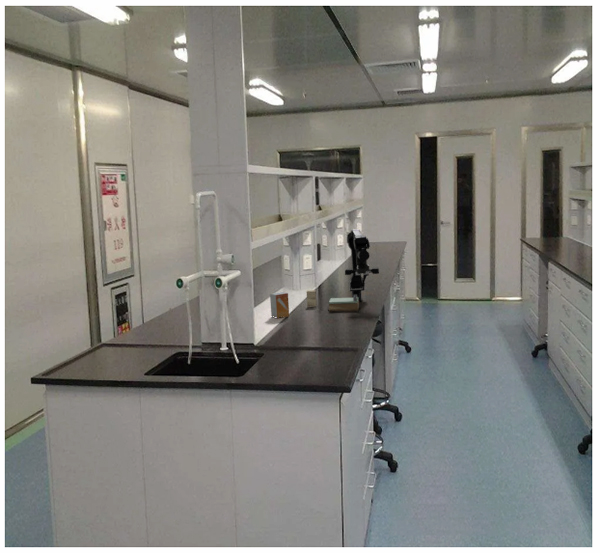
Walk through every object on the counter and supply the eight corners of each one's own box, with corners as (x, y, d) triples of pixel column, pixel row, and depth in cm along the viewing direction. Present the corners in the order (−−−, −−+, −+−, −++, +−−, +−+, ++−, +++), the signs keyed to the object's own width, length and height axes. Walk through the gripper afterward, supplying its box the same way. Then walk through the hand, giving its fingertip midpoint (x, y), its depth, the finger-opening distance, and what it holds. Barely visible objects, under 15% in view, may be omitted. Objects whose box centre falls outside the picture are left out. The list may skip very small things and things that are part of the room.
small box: (277, 318, 321) (275, 294, 319) (271, 317, 326) (269, 293, 324) (289, 316, 325) (288, 292, 323) (283, 314, 330) (282, 291, 329)
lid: (330, 299, 342) (330, 294, 342) (358, 299, 340) (358, 293, 340) (328, 303, 331) (328, 298, 331) (357, 302, 329) (357, 297, 328)
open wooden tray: (331, 307, 343) (330, 300, 343) (358, 306, 341) (358, 299, 340) (329, 311, 331) (328, 304, 331) (357, 310, 329) (357, 303, 328)
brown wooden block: (308, 305, 354) (307, 290, 352) (316, 305, 353) (315, 290, 352) (307, 306, 349) (306, 291, 348) (315, 306, 348) (314, 291, 347)
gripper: (343, 261, 324) (345, 289, 326) (378, 260, 321) (379, 288, 323) (345, 258, 335) (346, 286, 337) (378, 257, 332) (379, 285, 334)
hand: (362, 286), depth 333 cm, fingers closed
